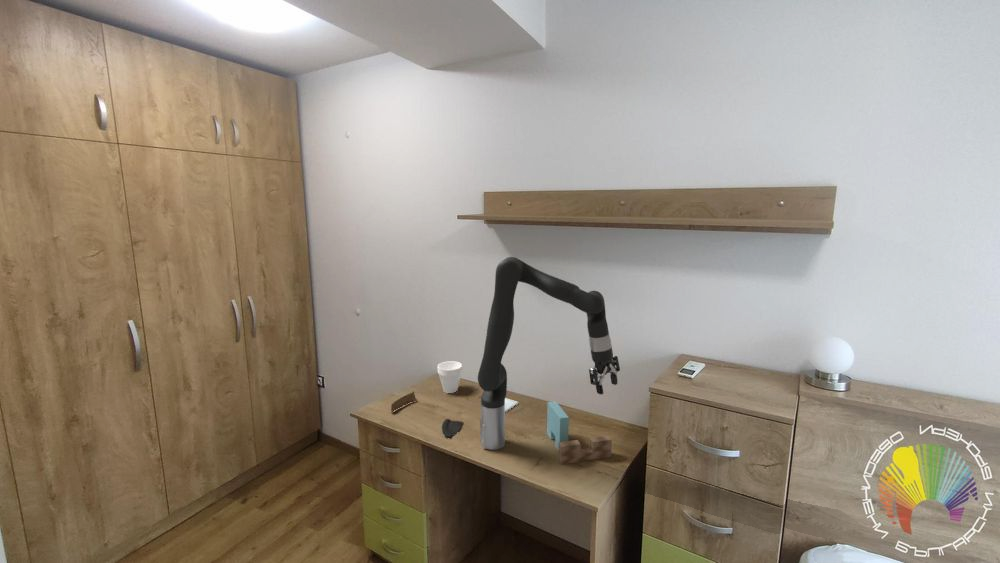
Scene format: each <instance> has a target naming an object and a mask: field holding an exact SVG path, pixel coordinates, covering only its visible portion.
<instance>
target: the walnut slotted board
mask: <svg viewBox="0 0 1000 563" xmlns="http://www.w3.org/2000/svg"><path fill="white" fill-rule="evenodd" d="M612 446H613V440H612V438H611V436H609V435H602V436H594V437H590V438H589V447H586V448H582V446H581V442H580V441H579V440H578V439H574V440H568V441H566V442H559V447H558V449H557V452H558V453H557V456H558V459H557V460H558V462H559V463H560V465H566V464H571V463H578V462H586V461H592V460H597V459H603V458H610V457H612Z"/></svg>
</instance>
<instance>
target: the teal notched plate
mask: <svg viewBox="0 0 1000 563" xmlns="http://www.w3.org/2000/svg"><path fill="white" fill-rule="evenodd" d="M546 407H547V414H546V418H547V419H546V424H547V425H546V434H547V436H548V437H549V439H550V440H554V446H555V448H556V449H557V450H558V447H559V442H566V441H569V427H570V425H569V424H570V423H569V422H570V418H569V417H570V416H568V414H567V413H566V412H565V411H564V409H563V408H562V407H561V406H560V404H559V403H558V402H557V401H555V400H554V401H547V406H546Z"/></svg>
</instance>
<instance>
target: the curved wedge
mask: <svg viewBox="0 0 1000 563" xmlns="http://www.w3.org/2000/svg"><path fill="white" fill-rule="evenodd" d="M462 424H464V422H463V421H461V420H460V421H458V420H451V419H450V418H446V419H445V420H444V421H443V422H442V425H441V431H442V434H444V435H445V436H444V435H443V436H444V437H445V438H446V439H448V438H450V439H451V438H452V437H454V436H455V435H457V434H458V433H459V432H460V431H461V429H462V427H463V425H462ZM457 432H458V433H457ZM454 434H455V435H454Z"/></svg>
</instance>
